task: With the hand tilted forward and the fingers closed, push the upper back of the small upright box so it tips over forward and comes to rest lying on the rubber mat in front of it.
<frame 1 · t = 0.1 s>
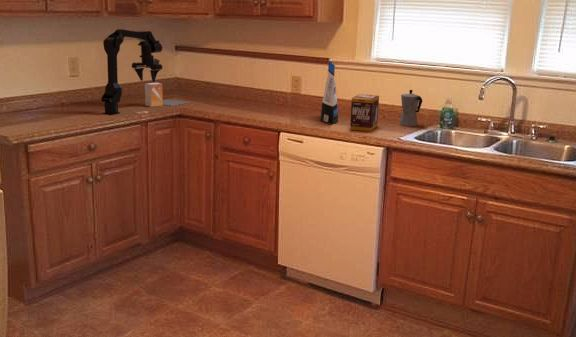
hand: (147, 81, 342), 15 cm above the worktop, tool pointing down, fingers open, 9 cm apart
coffeepot: (409, 125, 306), on the worktop
small box: (154, 106, 349), on the worktop
coaster: (141, 112, 326), on the worktop
mat: (169, 102, 360), on the worktop
supplement box: (363, 128, 298), on the worktop
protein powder: (329, 120, 315), on the worktop
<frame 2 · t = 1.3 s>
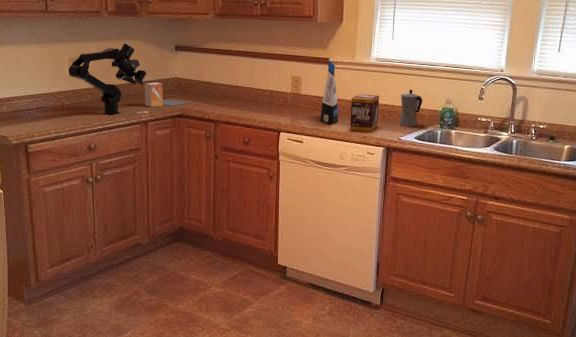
hand: (139, 84, 336), 14 cm above the worktop, tool tilted 45°, fingers open, 5 cm apart
nothing on the worktop moved.
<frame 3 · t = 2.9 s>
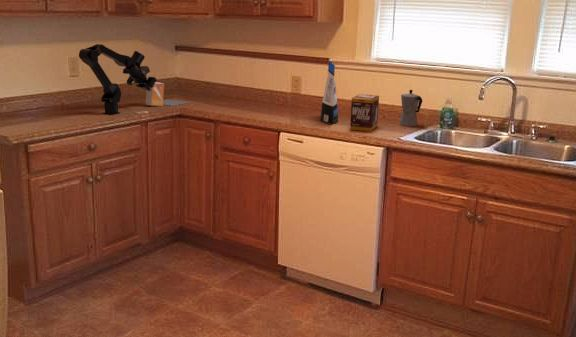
hand: (149, 90, 344), 9 cm above the worktop, tool tilted 45°, fingers closed
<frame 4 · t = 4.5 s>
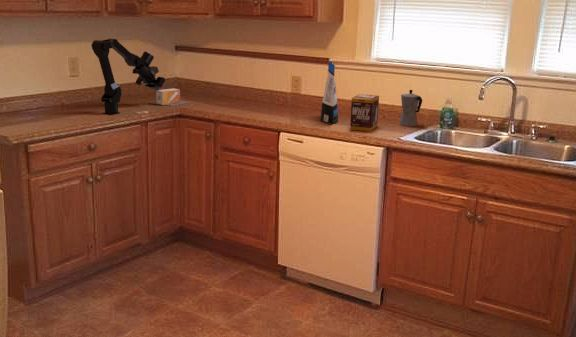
hand: (158, 90, 350), 9 cm above the worktop, tool tilted 45°, fingers closed
small box: (158, 97, 350), point 4 cm above the worktop, touching mat
everything else where it was.
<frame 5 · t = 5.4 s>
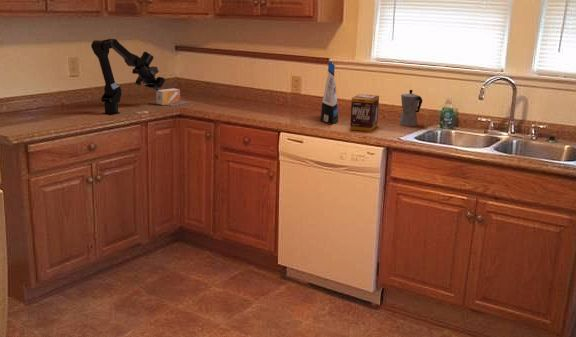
hand: (157, 90, 350), 9 cm above the worktop, tool tilted 45°, fingers closed
nothing on the worktop moved.
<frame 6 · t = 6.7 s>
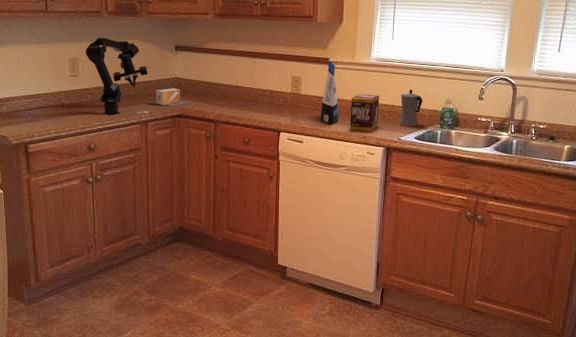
hand: (134, 86, 341), 12 cm above the worktop, tool tilted 25°, fingers closed
nothing on the worktop moved.
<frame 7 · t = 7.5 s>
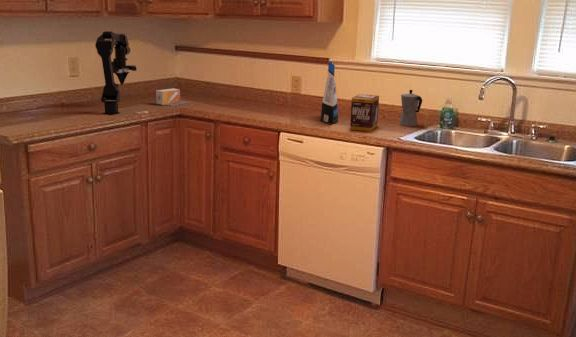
hand: (121, 84, 339), 13 cm above the worktop, tool pointing down, fingers closed
nothing on the worktop moved.
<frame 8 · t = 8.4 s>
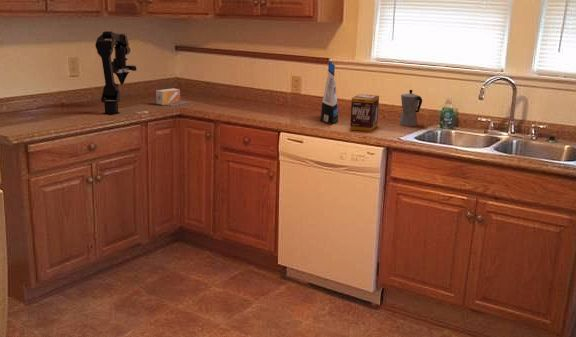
hand: (121, 84, 339), 13 cm above the worktop, tool pointing down, fingers closed
nothing on the worktop moved.
at the end: small box tilted 89°; small box inside the target area (4.2 cm from its centre), point 4.4 cm above the worktop; the gripper is holding nothing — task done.
